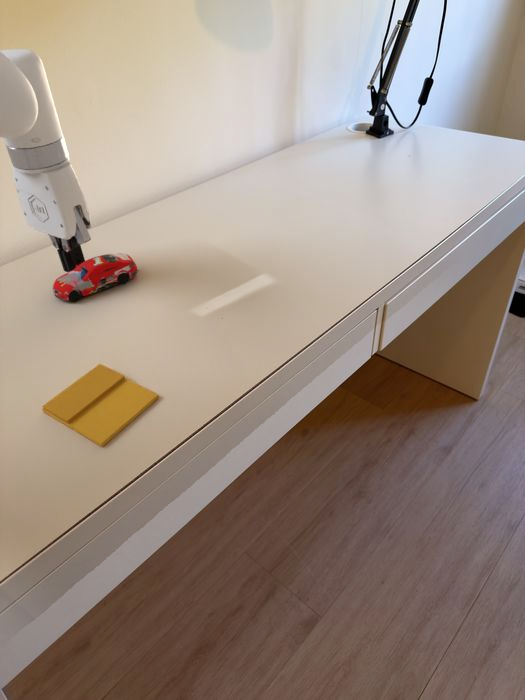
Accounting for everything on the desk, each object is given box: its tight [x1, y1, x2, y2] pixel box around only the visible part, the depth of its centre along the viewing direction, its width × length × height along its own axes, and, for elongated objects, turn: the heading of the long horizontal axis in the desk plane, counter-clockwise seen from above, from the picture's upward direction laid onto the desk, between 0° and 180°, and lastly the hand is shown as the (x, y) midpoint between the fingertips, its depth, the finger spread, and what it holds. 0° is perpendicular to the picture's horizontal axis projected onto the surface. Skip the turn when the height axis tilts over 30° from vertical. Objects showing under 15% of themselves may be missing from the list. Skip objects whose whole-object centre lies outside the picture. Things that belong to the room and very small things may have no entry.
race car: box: [52, 252, 139, 303], centre depth 81 cm, size 13×5×4 cm, turn 124°
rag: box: [41, 363, 160, 448], centre depth 61 cm, size 9×10×1 cm
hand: (75, 268), depth 84 cm, fingers closed
